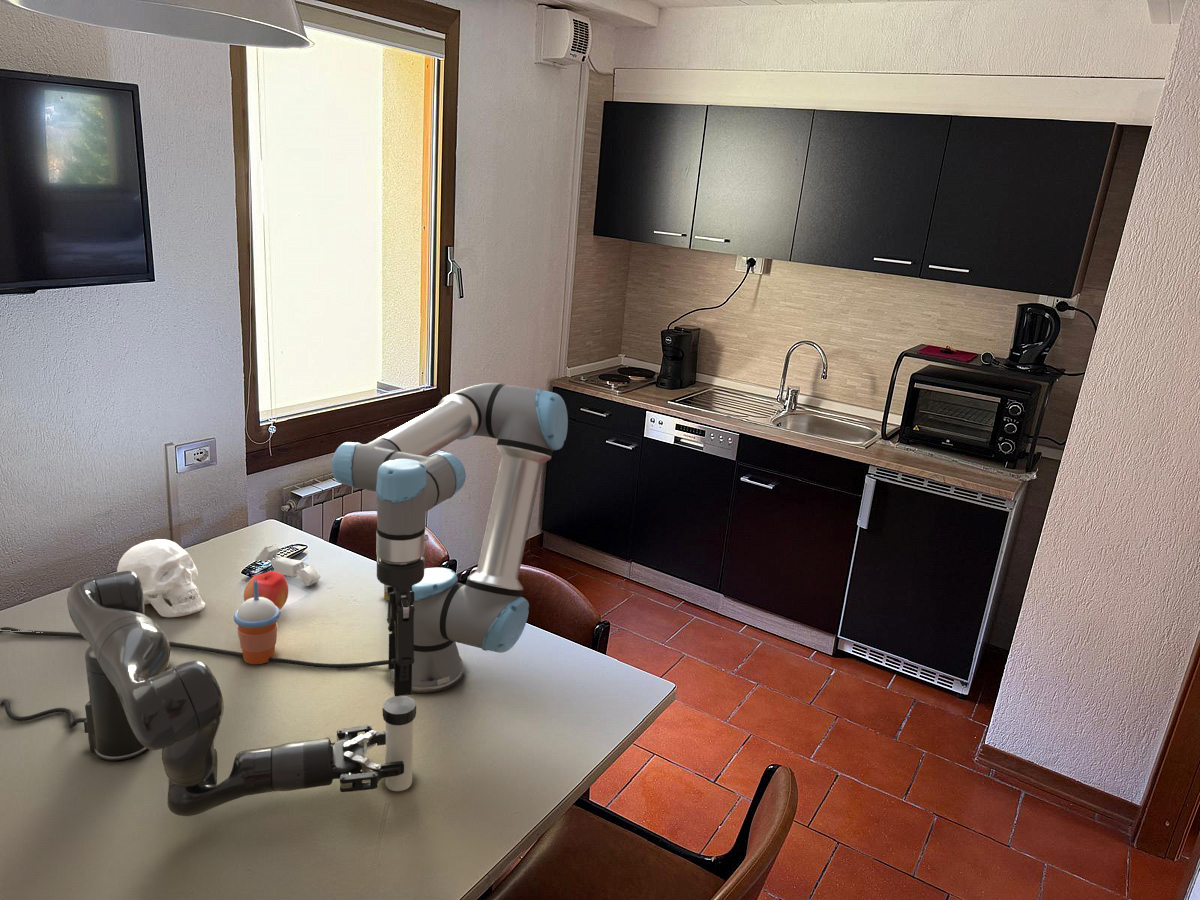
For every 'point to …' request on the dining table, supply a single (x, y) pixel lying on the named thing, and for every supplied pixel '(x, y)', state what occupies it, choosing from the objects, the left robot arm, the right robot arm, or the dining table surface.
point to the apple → (269, 588)
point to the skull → (164, 576)
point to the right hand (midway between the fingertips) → (399, 680)
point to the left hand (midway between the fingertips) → (401, 751)
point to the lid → (399, 710)
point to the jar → (400, 754)
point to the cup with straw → (257, 628)
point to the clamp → (288, 565)
